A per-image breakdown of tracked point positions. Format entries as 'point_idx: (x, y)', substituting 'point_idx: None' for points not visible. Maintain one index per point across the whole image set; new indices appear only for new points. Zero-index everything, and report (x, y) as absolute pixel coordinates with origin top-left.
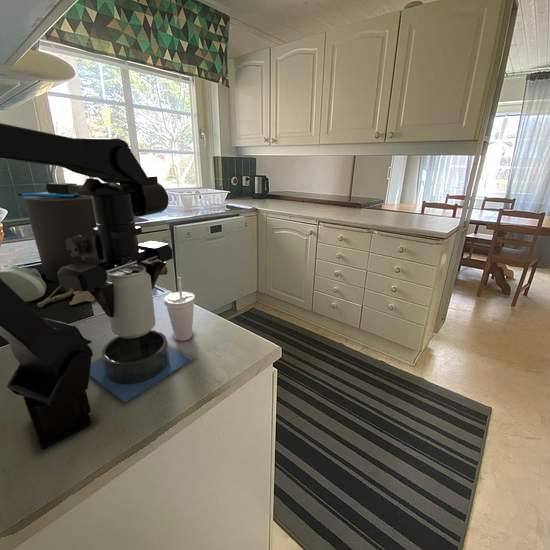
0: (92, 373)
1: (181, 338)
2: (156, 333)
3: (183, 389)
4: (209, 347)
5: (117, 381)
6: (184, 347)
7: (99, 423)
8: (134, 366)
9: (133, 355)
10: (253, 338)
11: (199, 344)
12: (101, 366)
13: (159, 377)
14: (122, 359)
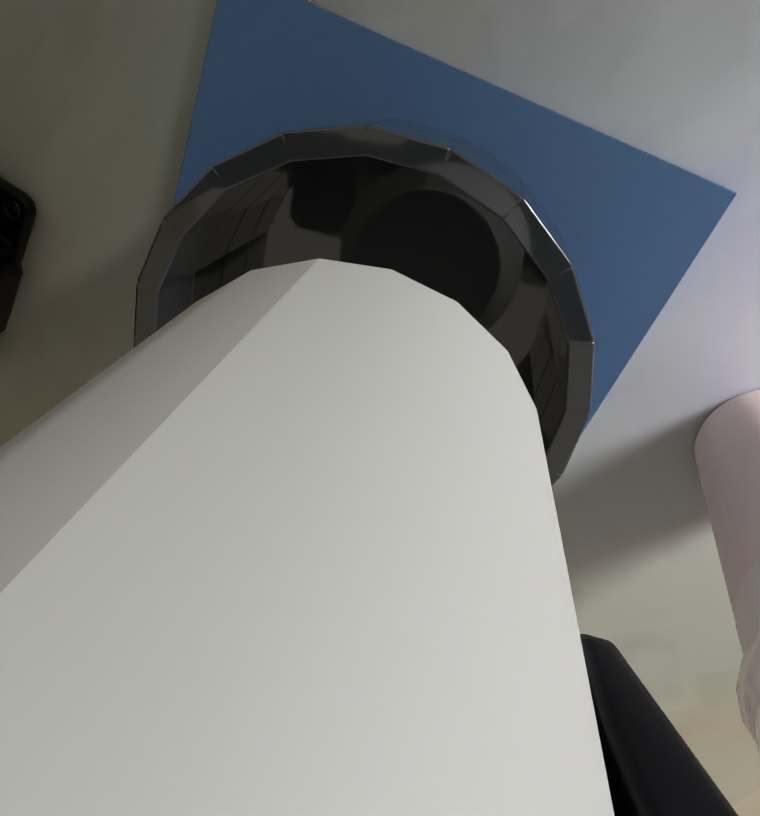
0: (214, 88)
1: (697, 466)
2: (550, 440)
3: None
4: (632, 619)
5: None
6: (614, 496)
7: (13, 379)
8: None
9: (442, 248)
10: (750, 788)
11: (659, 565)
12: (290, 92)
13: None
14: (385, 199)
